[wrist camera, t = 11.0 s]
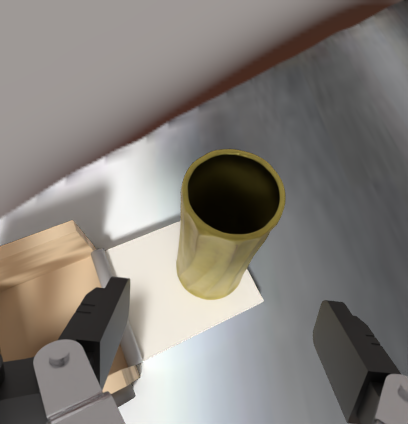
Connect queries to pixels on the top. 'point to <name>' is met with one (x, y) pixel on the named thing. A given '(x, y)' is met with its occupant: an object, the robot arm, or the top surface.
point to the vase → (225, 219)
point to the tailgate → (164, 295)
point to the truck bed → (51, 297)
